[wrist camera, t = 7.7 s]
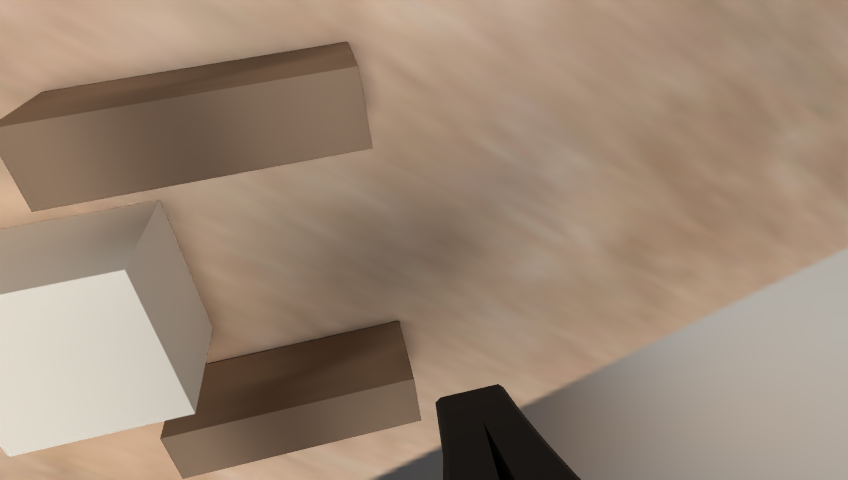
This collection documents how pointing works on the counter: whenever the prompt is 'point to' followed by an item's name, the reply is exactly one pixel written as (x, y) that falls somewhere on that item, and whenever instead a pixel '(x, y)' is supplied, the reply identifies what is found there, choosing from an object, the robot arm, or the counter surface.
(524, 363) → the counter surface
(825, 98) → the counter surface
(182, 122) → the parallel wooden rails
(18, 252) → the off-white block
